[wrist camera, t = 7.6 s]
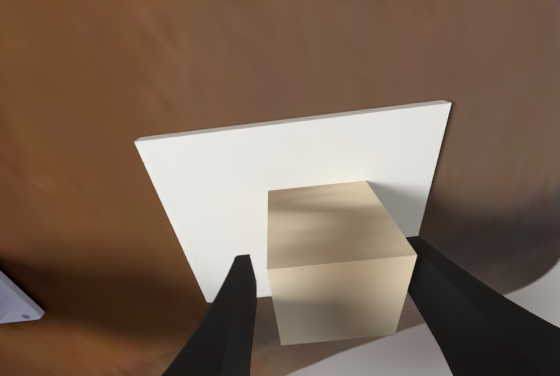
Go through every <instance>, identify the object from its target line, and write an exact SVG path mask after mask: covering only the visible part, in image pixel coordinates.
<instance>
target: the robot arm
mask: <svg viewBox="0 0 560 376" xmlns="http://www.w3.org/2000/svg"><path fill="white" fill-rule="evenodd" d="M405 238H406V239H407V241H408V242H409V244H410V245H411V247H412V248H413V249H414V251H415V252H416V254H417V258H416V261H415V265H414V269H413V272H412V276H411V279H410V283H409V286H408V292H409V294H410V296H411V297H412V299H413V301H414V303H415V305H416V306H417V308H418V310H419V312H420V313H421V315H422V317H423V318H424V320H425V322H426V324H427V325H428V327H429V329H430V330H431V332H432V334H433V336H434V337H435V339H436V341H437V343H438V345H439V347H440V349H441V351H442V353H443V355H444V357H445V359H446V361H447V363H448V366H449V368H450V370H451V372H452V374H453V376H560V328H559V327H557V326H555V325H553V324H551V323H549V322H547V321H545V320H543V319H542V318H540V317H538V316H536V315H534V314H533V313H531V312H529V311H527V310H525V309H524V308H522V307H521V306H519V305H517V304H515V303H514V302H512V301H510V300H509V299H507V298H505V297H504V296H502V295H501V294H499V293H497V292H496V291H494V290H493V289H491V288H490V287H488V286H487V285H485V284H484V283H482V282H480V281H479V280H478V279H476V278H475V277H473V276H472V275H470V274H469V273H467V272H466V271H464V270H463V269H462V268H460V267H459V266H457V265H456V264H455V263H453V262H452V261H451V260H449V259H448V258H446V257H445V256H444V255H442V254H441V253H440V252H438V251H437V250H436V249H434V248H433V247H432V246H430V245H429V244H428V243H426V242H425V241H424V240H422V239H421V238H420V237H418V236H412V237H405ZM256 305H257V281H256V277H255V274H254V270H253V266H252V262H251V258H250V254H246V255H237V256H236V257H235V258H234V261H233V263H232V265H231V268H230V270H229V272H228V274H227V276H226V278H225V280H224V282H223V284H222V286H221V288H220V290H219V292H218V293H217V295H216V297H215V299H214V301H213V302H212V304H211V306H210V307H209V309H208V311H207V312H206V314H205V316H204V317H203V319H202V321H201V322H200V324H199V325H198V327H197V328H196V330H195V331H194V333H193V334H192V336H191V337H190V339H189V340H188V341H187V343H186V344H185V346H184V347H183V348H182V350H181V351H180V352H179V354H178V355H177V356H176V358H175V359H174V360H173V362H172V363H171V364H170V365H169V367H168V368H167V369H166V371H165V372H164V373H163V374H162V375H161V376H250V364H251V352H252V343H253V334H254V325H255V315H256ZM43 315H44V311H43V310H42V309H41V308H40V307H39V306H38V305H37V304H36V303H35V302H34V301H33V300H32V299H31V298H29V297H28V296H27V295H26V294H25V293H24V292H23V291H22V290H21V289H20V288H19V287H18V286H17V285H15V284H14V283H13V282H12V281H11V280H10V279H9V278H8V277H7V276H6V275H5V274H4V273H3V272H1V271H0V323H8V322H18V321H28V320H37V319H40V318H41V317H42V316H43Z"/></svg>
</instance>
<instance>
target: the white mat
mask: <svg viewBox="0 0 560 376" xmlns="http://www.w3.org/2000/svg"><path fill="white" fill-rule="evenodd" d="M450 107H451V102H448V101H445V100H439V101H431V102H422V103H414V104H406V105H398V106H390V107H382V108H374V109H366V110H358V111H350V112H342V113H334V114H325V115H317V116H309V117H301V118H293V119H285V120H277V121H269V122H261V123H253V124H245V125H237V126H229V127H220V128H212V129H204V130H196V131H188V132H180V133H172V134H164V135H156V136H148V137H140V138H139V139H138V140H136V141H135V145H136V147H137V149H138V151H139V153H140V156H141V158H142V160H143V162H144V164H145V167H146V169H147V171H148V173H149V176H150V178H151V180H152V182H153V184H154V187H155V189H156V191H157V193H158V195H159V198H160V200H161V202H162V204H163V206H164V209H165V211H166V213H167V215H168V217H169V220H170V222H171V224H172V226H173V228H174V231H175V233H176V235H177V237H178V239H179V242H180V244H181V246H182V248H183V251H184V253H185V255H186V257H187V259H188V262H189V264H190V266H191V268H192V270H193V273H194V275H195V277H196V279H197V281H198V284H199V286H200V288H201V290H202V292H203V295H204V297H205V299H206V301H207V302H213V301H214V299H215V297H216V295H217V293H218V292H219V290H220V288H221V286H222V284H223V282H224V280H225V278H226V276H227V274H228V272H229V270H230V268H231V265H232V263H233V261H234V258H235V257H236V256H237V255H246V254H250V258H251V262H252V266H253V270H254V274H255V277H256V281H257V297H266V296H272V294H271V289H270V284H269V278H268V273H267V223H268V191H270V190H279V189H289V188H298V187H308V186H317V185H327V184H336V183H346V182H356V181H365V180H366V182H367V183H368V185H369V186H370V188H371V189H372V190H373V192H374V193H375V195H376V196H377V198H378V199H379V200H380V202H381V203H382V205H383V206H384V208H385V209H386V211H387V212H388V213H389V215H390V216H391V218H392V219H393V221H394V222H395V224H396V225H397V226H398V228H399V229H400V231H401V232H402V234H403V235H404V237H412V236H418V234H419V230H420V226H421V222H422V218H423V214H424V210H425V206H426V202H427V199H428V195H429V191H430V187H431V183H432V179H433V175H434V171H435V167H436V163H437V159H438V155H439V151H440V147H441V143H442V139H443V135H444V131H445V127H446V123H447V119H448V115H449V111H450Z"/></svg>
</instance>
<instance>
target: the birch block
mask: <svg viewBox="0 0 560 376" xmlns="http://www.w3.org/2000/svg"><path fill="white" fill-rule="evenodd" d="M416 258H417V254H416V252H415V251H414V249H413V248H412V247H411V245H410V244H409V242H408V241H407V239H406V238H405V237H404V235H403V234H402V232H401V231H400V229H399V228H398V226H397V225H396V224H395V222H394V221H393V219H392V218H391V216H390V215H389V213H388V212H387V211H386V209H385V208H384V206H383V205H382V203H381V202H380V200H379V199H378V198H377V196H376V195H375V193H374V192H373V190H372V189H371V188H370V186H369V185H368V183H367V182H366V180H365V181H356V182H346V183H336V184H327V185H317V186H308V187H298V188H289V189H279V190H270V191H268V223H267V273H268V278H269V284H270V289H271V294H272V299H273V304H274V310H275V315H276V320H277V325H278V330H279V336H280V341H281V345H291V344H302V343H313V342H324V341H335V340H346V339H357V338H368V337H379V336H391V335H395V332H396V329H397V325H398V322H399V318H400V315H401V311H402V308H403V304H404V300H405V297H406V293H407V290H408V286H409V283H410V279H411V276H412V272H413V269H414V265H415V261H416Z"/></svg>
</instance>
